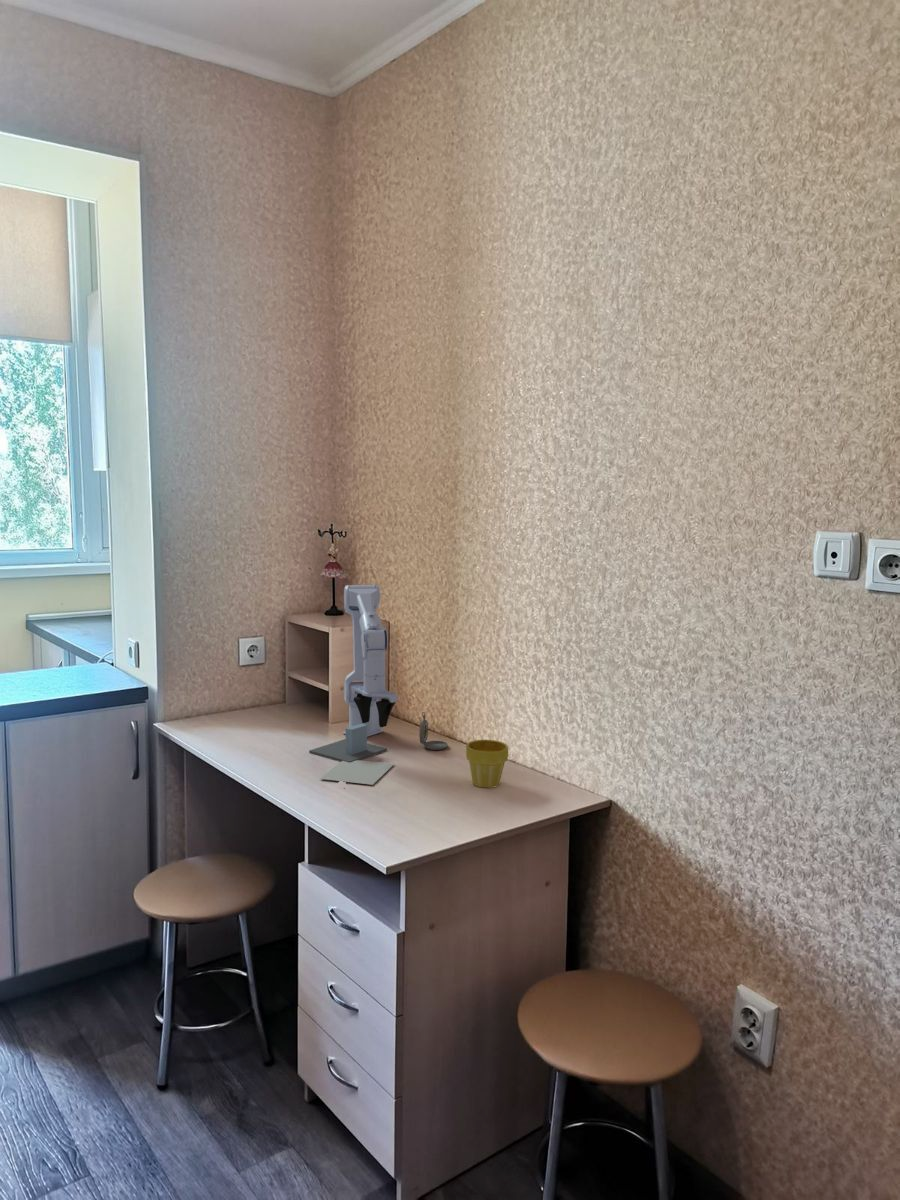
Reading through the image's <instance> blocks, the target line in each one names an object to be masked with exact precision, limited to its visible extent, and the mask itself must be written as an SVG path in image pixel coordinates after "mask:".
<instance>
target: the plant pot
mask: <svg viewBox="0 0 900 1200" xmlns="http://www.w3.org/2000/svg"><path fill="white" fill-rule="evenodd" d="M465 754H466V755H465V757H466V760H467V761H468V762H469V764H468V765H469V769H470V776H471V781H472V784H473V785H474V786H475V785H476V786H475V787H477V786H479V787H478V788H481V787H493V788H495V787H494V786H497V785H498V786H499V785H500V783H501V779H502V774H503V772H504V771H503V770H504V767H505V763H506V762H508V758H509V746H508V744H507V743H505V742H503V741H500V740H499V741H498V740H493V739H476V740H475V739H474V740H472V741H469V742H468V743H467V744H466V748H465ZM498 786H497V787H498Z"/></svg>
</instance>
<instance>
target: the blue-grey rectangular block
mask: <svg viewBox="0 0 900 1200" xmlns="http://www.w3.org/2000/svg"><path fill="white" fill-rule="evenodd" d="M345 731H346V734H345V739H346V754H350V755H353V754H356V753H359V752H362V751H365V750H367V743H368V737H367V725H365V724H358V725H355V726H352V727H349V726H348V727H345Z"/></svg>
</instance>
